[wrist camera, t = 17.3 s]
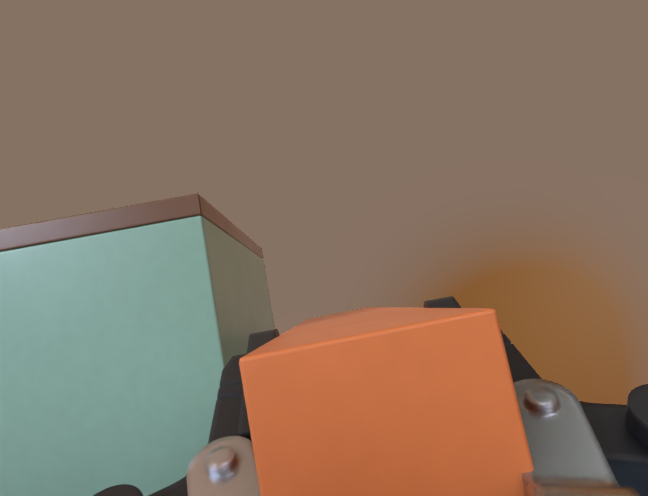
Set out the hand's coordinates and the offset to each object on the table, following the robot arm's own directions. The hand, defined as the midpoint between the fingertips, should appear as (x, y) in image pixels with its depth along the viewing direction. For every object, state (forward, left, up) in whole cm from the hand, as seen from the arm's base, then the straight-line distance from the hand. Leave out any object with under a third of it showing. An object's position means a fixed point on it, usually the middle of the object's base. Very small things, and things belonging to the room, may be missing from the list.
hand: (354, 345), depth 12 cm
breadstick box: (-2, +5, -3) cm, 7 cm away
